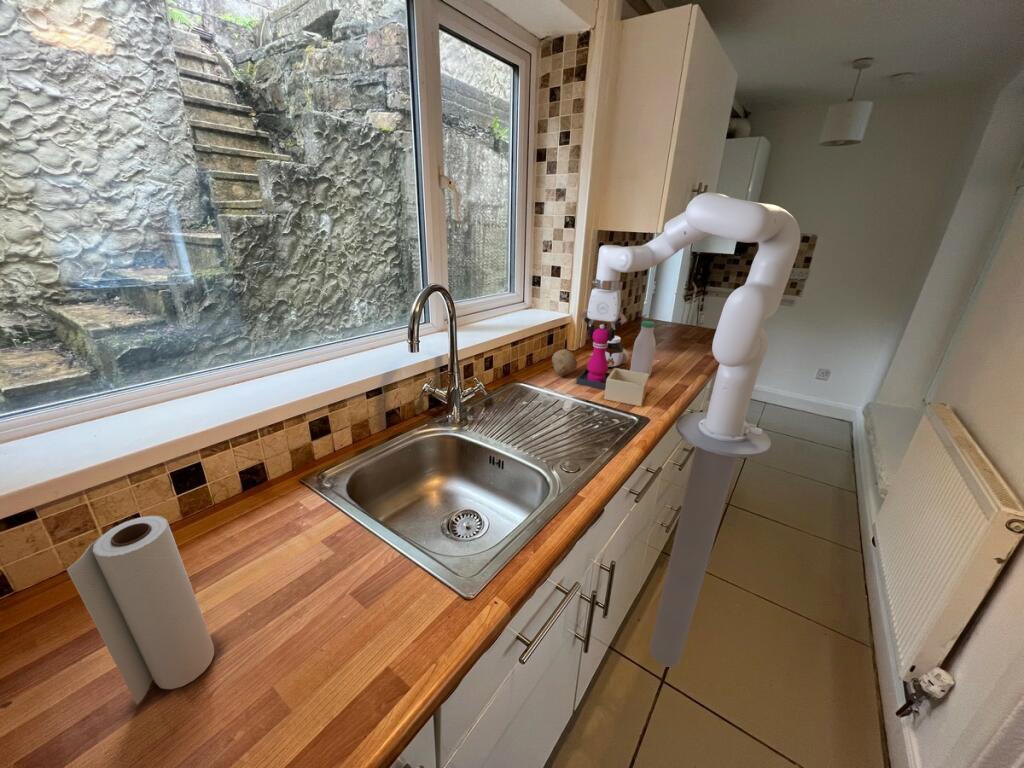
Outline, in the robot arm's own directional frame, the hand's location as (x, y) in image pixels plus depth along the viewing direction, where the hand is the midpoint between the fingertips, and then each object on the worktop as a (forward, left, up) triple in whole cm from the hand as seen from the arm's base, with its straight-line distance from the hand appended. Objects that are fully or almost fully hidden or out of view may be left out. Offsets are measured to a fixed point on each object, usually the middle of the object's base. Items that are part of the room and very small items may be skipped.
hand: (601, 338), depth 139 cm
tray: (0, 0, -16) cm, 16 cm away
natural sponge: (+12, 0, -16) cm, 20 cm away
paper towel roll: (+22, +121, -16) cm, 125 cm away
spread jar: (-1, -21, -16) cm, 26 cm away
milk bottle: (-13, -16, -16) cm, 26 cm away
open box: (-12, +8, -16) cm, 21 cm away
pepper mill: (0, 0, -15) cm, 15 cm away
